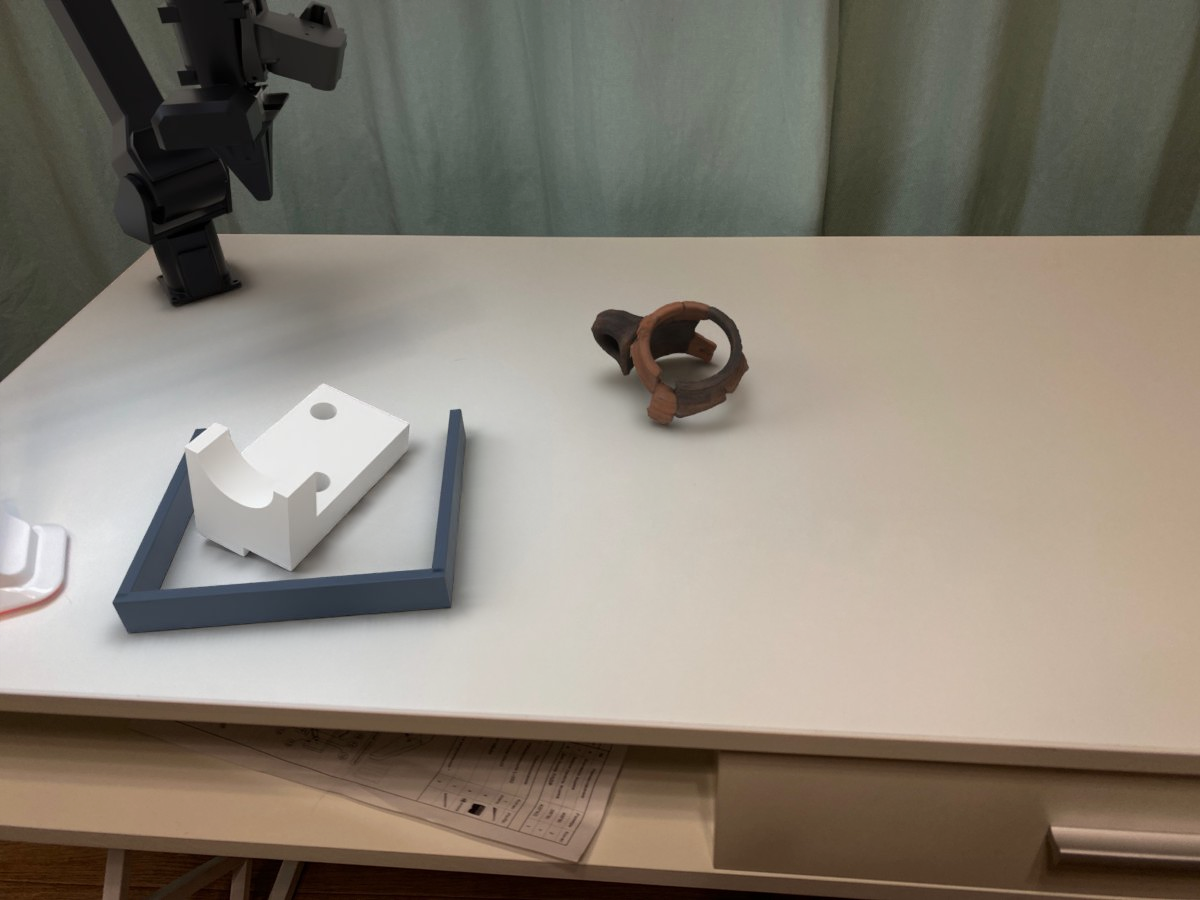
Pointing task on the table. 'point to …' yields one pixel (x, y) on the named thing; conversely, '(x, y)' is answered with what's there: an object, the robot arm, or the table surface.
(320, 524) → the bracket
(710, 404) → the pottery mug
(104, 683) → the table surface
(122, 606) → the open blue frame
